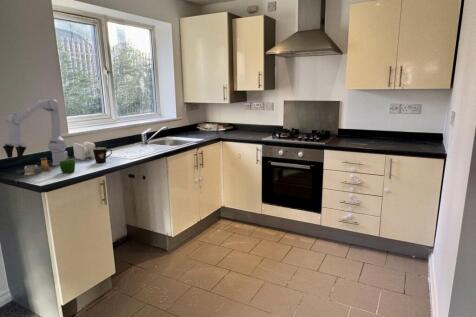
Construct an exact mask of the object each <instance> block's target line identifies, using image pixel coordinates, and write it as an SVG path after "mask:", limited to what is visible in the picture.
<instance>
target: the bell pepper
mask: <svg viewBox="0 0 476 317" xmlns="http://www.w3.org/2000/svg"><path fill="white" fill-rule="evenodd" d="M68 159H69V160H68ZM59 168H60V171H61V173H62V174H64V175H65V174H66V175H69V174H73V173H75V169H76V162H75V160H73V159H70V156H68V157H67V159H66V160H65V161H60V165H59Z"/></svg>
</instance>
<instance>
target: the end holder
mask: <svg viewBox="0 0 476 317" xmlns="http://www.w3.org/2000/svg"><path fill="white" fill-rule="evenodd" d="M36 167H38V164H34V165H33V164H32V165H25V166H24V174H25V173H30V172H35V170H34V169H35V168H36Z"/></svg>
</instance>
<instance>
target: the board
mask: <svg viewBox="0 0 476 317" xmlns="http://www.w3.org/2000/svg"><path fill="white" fill-rule="evenodd" d="M52 168H53V167H52V166H49V171H43V172H42V173H36V174H35V172H30V173H25V172H24V173H23V174H24V176H29V175H39V174H47V173H48V174H49V173H52Z"/></svg>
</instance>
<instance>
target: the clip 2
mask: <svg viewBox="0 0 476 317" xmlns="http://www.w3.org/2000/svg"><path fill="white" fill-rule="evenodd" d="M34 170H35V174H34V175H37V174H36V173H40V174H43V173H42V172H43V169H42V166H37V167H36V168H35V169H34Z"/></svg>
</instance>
